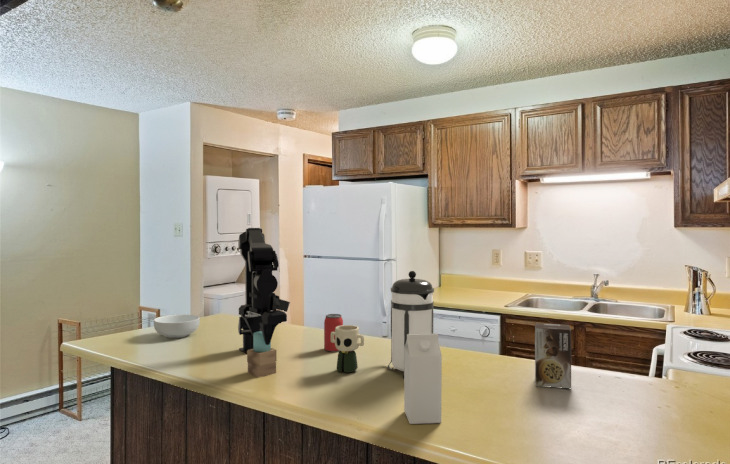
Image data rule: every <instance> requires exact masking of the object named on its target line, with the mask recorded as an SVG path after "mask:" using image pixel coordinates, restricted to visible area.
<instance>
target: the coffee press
mask: <svg viewBox="0 0 730 464" xmlns="http://www.w3.org/2000/svg"><path fill="white" fill-rule="evenodd" d="M407 274H408V277H409V278H402V279H398V280H396V281H394V282H393V284H392V286H391V287H390V292H391V300H390V337H391V340H390V341H391V344H390V345H391V347H390V348H391V349H390V350H391V351H390V352H391V354H390V356H391V357H390V358H391V360H390V362H389V364H388V365H387V369H388V370H390V371H391V370H393V369H394V368H395V369H396V370H398V371H401V372H404V347H405V344H406V341H407V334H434V298H433V296H434V293H435V288H433V285H432V283H431V282H430V281H428V280H426V279H422V278H421V279H420V278H416V276H417V273H416V272H415V270H410V271H409V272H408V273H407ZM391 364H392V366H393V367H390V365H391ZM402 379H403V380H404V373H403V374H402Z"/></svg>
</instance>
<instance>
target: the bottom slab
mask: <svg viewBox="0 0 730 464" xmlns="http://www.w3.org/2000/svg"><path fill="white" fill-rule="evenodd" d="M247 373H248V374H250V375H251V376H254V377H256V378H261V377H265V376H270V375H274V374H277V361H276V362H272V363H269V364H266V365H262V366H258V365H255V364H252V363H248V362H247Z"/></svg>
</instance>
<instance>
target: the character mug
mask: <svg viewBox="0 0 730 464" xmlns="http://www.w3.org/2000/svg"><path fill="white" fill-rule="evenodd" d="M334 335H335V340H334ZM331 342H332V343H335V346H336V348H337V349H338V350H340V351H338V353H337V361H336V370H337V372H342V371H343V373H352V372H355V371H357V370H358V359H357V354H356V350H358V349H359V347H364V345H365V338H364V335H363V334H360V328H359V326H357V325H353V324H352V325H351V324H343V325H342V326H337V327H336V328H335V332H331Z"/></svg>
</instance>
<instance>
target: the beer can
mask: <svg viewBox="0 0 730 464" xmlns="http://www.w3.org/2000/svg"><path fill="white" fill-rule="evenodd" d="M342 325H344V320H343V317H342V314H340V313H339V314H338V313H328V314H325V318H324V322H323V326H324V327H323V331H324V332H323V339H324V340H323V342H324V343H323V344H324V346H323V348H324V350H325V351H326V352H329V353H330V352H331V353H332V352H333V353H336V352H339V351H340V350H338V349H337V348H336V346H335V343H332V342H331V332H335V328H336V327H337V326H342ZM334 340H335V335H334Z"/></svg>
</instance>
